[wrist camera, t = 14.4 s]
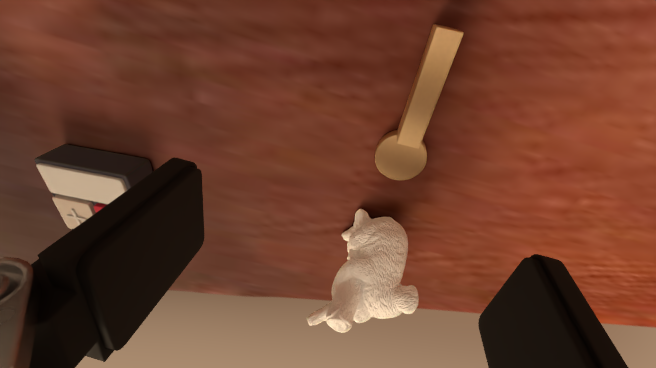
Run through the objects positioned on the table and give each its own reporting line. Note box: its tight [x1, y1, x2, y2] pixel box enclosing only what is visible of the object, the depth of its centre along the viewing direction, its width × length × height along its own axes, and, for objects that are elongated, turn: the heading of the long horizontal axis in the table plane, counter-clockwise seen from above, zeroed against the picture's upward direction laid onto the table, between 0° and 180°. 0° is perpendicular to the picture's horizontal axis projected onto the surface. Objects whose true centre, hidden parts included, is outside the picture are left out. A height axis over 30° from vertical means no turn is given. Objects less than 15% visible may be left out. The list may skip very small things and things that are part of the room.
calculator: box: [35, 144, 153, 230], centre depth 37 cm, size 11×4×15 cm
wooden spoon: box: [375, 24, 464, 180], centre depth 24 cm, size 12×4×3 cm, turn 169°
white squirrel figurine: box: [306, 209, 419, 333], centre depth 27 cm, size 8×7×12 cm
